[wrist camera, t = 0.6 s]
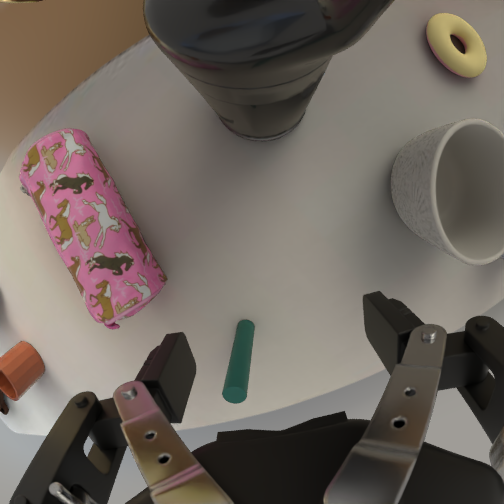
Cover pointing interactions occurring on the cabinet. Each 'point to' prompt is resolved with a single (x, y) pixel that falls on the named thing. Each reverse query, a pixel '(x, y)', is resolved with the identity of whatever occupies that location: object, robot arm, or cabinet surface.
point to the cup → (20, 370)
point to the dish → (3, 404)
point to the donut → (447, 53)
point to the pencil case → (90, 226)
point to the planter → (454, 189)
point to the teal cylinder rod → (239, 364)
